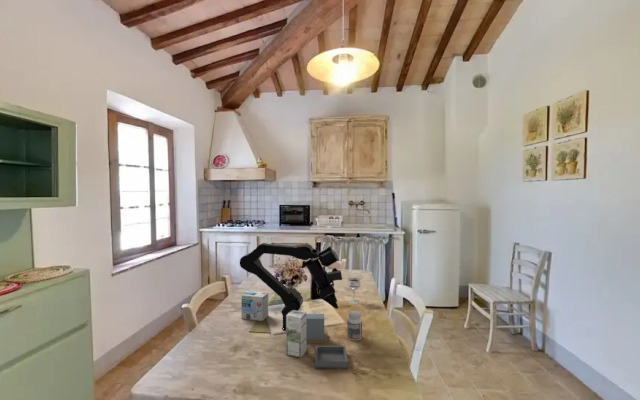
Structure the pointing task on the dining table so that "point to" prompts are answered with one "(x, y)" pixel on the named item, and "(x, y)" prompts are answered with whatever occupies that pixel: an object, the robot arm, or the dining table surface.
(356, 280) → the wineglass
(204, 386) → the dining table surface
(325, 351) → the parts tray
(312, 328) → the mounted unit
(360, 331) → the pill bottle
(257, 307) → the light bulb box
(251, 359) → the dining table surface
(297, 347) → the syrup box
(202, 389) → the dining table surface
